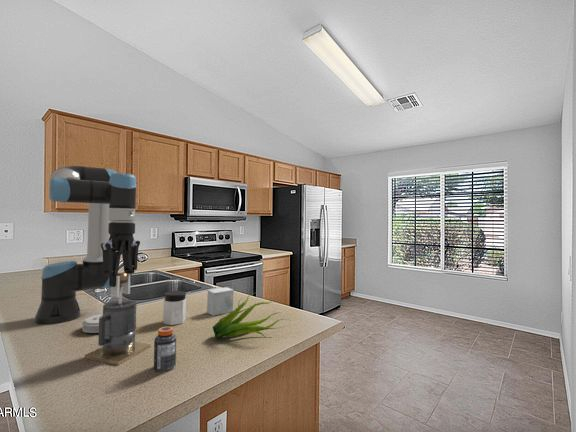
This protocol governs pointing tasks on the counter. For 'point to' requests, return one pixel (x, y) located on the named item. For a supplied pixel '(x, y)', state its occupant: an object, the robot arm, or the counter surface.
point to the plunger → (122, 280)
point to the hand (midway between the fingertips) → (120, 294)
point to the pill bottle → (165, 350)
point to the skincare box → (220, 301)
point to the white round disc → (91, 324)
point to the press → (117, 334)
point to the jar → (174, 308)
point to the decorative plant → (235, 327)
